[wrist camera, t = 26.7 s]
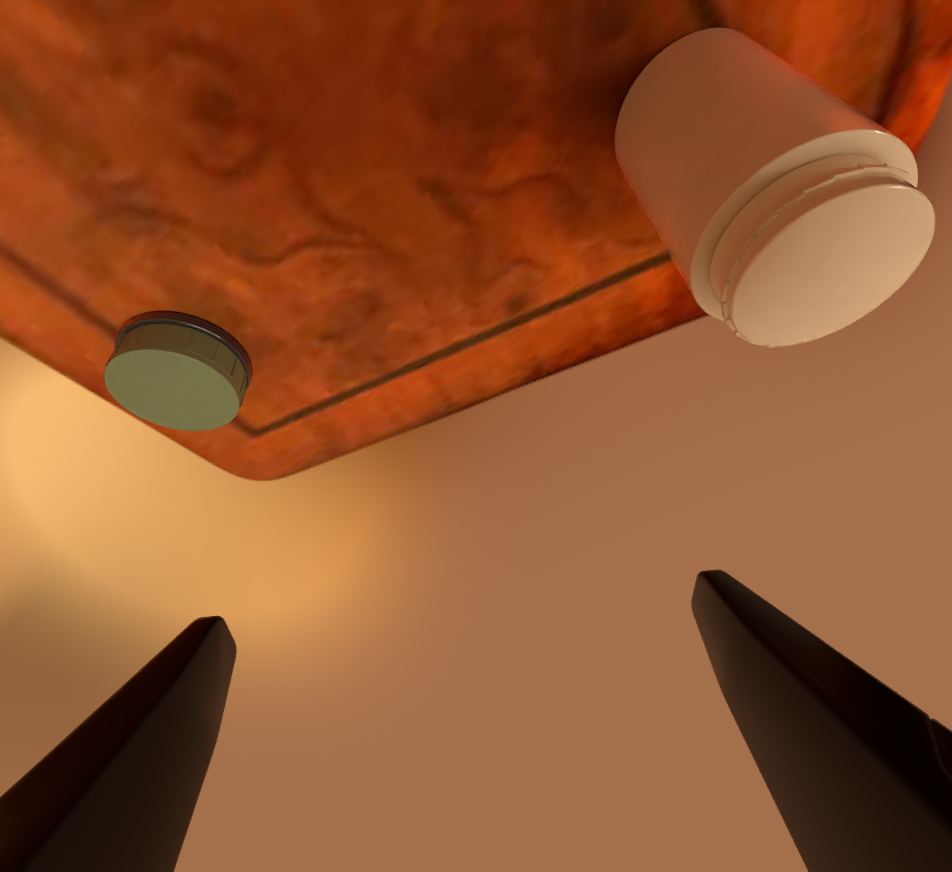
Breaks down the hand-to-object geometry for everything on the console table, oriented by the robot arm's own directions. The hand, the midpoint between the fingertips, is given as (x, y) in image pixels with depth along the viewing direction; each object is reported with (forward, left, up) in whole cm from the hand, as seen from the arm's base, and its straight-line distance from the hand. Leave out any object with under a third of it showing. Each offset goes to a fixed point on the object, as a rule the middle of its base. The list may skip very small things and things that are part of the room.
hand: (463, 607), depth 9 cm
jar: (-2, +10, -17) cm, 20 cm away
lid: (+9, -13, -15) cm, 22 cm away
